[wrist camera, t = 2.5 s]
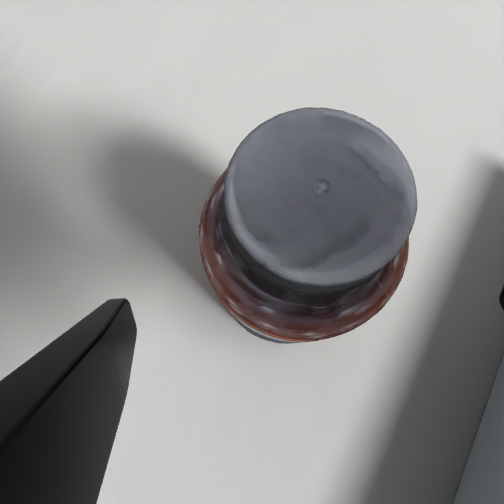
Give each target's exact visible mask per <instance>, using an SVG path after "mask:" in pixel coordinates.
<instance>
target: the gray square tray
mask: <svg viewBox="0 0 504 504" xmlns="http://www.w3.org/2000/svg"><path fill="white" fill-rule="evenodd" d="M453 504H504V355H503V358H502V361H501V363H500V366H499V369H498V372H497V375H496V378H495V381H494V384H493V387H492V390H491V393H490V396H489V399H488V402H487V405H486V408H485V411H484V414H483V417H482V420H481V423H480V426H479V429H478V431H477V434H476V437H475V440H474V443H473V446H472V449H471V452H470V455H469V458H468V461H467V464H466V467H465V470H464V473H463V476H462V479H461V482H460V485H459V488H458V491H457V494H456V497H455V500H454V502H453Z"/></svg>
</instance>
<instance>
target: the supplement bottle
mask: <svg viewBox="0 0 504 504" xmlns="http://www.w3.org/2000/svg"><path fill="white" fill-rule="evenodd" d="M416 212H417V192H416V186H415V181H414V176H413V173H412V170H411V169H410V167H409V164H408V162H407V160H406V158H405V157H404V155H403V153H402V152H401V150H400V149H399V148H398V146H397V145H396V144H395V143H394V142H393V141H392V140H391V139H390V138H389V137H388V136H387V135H386V134H385V133H384V132H383V131H382V130H381V129H379V128H378V127H376V126H374V125H372V124H371V123H370V122H367V121H365V120H364V119H362V118H359V117H357V116H356V115H353V114H349V113H347V112H344V111H340V110H334V109H328V108H301V109H297V110H293V111H289V112H285V113H282V114H278V115H277V116H275V117H273V118H271V119H269V120H267V121H265V122H264V123H262V124H260V125H259V126H258V127H256V128H255V129H254V130H253V131H252V132H250V133H249V134H248V135H247V136H246V138H245V139H244V140H243V141H242V142H241V143H240V145H239V146H238V148H237V149H236V151H235V153H234V155H233V157H232V159H231V161H230V162H229V165H228V168H227V169H226V170H225V172H224V173H223V174H222V175H221V176H220V178H219V179H218V181H217V182H216V183H215V185H214V186H213V188H212V189H211V191H210V193H209V195H208V198H207V200H206V202H205V205H204V208H203V211H202V214H201V220H200V225H199V228H200V230H199V240H200V250H201V256H202V262H203V264H204V268H205V271H206V273H207V276H208V278H209V281H210V283H211V285H212V286H213V288H214V290H215V291H216V293H217V295H218V296H219V298H220V299H221V301H222V302H223V303H224V304H225V306H226V307H227V308H228V310H229V311H230V312H231V313H232V315H233V316H234V317H235V318H236V320H237V321H238V322H239V323H240V324H241V325H242V327H244V328H245V329H246V330H247V331H249V332H250V333H252V334H253V335H255V336H258V337H260V338H262V339H264V340H267V341H271V342H276V343H299V342H310V341H318V340H322V339H327V338H331V337H335V336H338V335H341V334H344V333H347V332H349V331H351V330H353V329H355V328H357V327H358V326H360V325H362V324H363V323H365V322H366V321H368V320H369V319H370V318H372V317H373V316H374V315H375V314H377V313H378V312H379V311H380V310H381V309H382V308H383V307H384V306H385V304H386V303H387V302H388V301H389V299H390V298H391V296H392V295H393V294H394V292H395V290H396V289H397V287H398V285H399V283H400V281H401V279H402V277H403V274H404V271H405V266H406V263H407V259H408V248H409V234H410V232H411V230H412V227H413V224H414V221H415V217H416Z"/></svg>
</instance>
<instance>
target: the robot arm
mask: <svg viewBox="0 0 504 504" xmlns="http://www.w3.org/2000/svg"><path fill="white" fill-rule="evenodd" d="M499 301H500V305H501V307H502V309H503V311H504V285H503V288H502V290H501V293H500V296H499ZM136 335H137V328H136V323H135V320H134V316H133V313H132V309H131V306H130V303H129V301H128V300H127V299H125V298H121V299H110V300H108V301H106V302H105V303H103V304H102V305H101V306H99V307H98V308H97V309H95V310H94V311H93V312H91V313H90V314H89V315H87V316H86V317H85V318H83V319H82V320H81V321H80V322H78V323H77V324H76V325H74V326H73V327H72V328H70V329H69V330H68V331H66V332H65V333H64V334H62V335H61V336H60V337H58V338H57V339H56V340H54V341H53V342H52V343H50V344H49V345H48V346H46V347H45V348H44V349H42V350H41V351H40V352H38V353H37V354H36V355H34V356H33V357H32V358H30V359H29V360H28V361H26V362H25V363H24V364H22V365H21V366H20V367H18V368H17V369H16V370H14V371H13V372H12V373H10V374H9V375H8V376H6V377H5V378H4V379H2V380H1V381H0V504H96V503H97V499H98V496H99V492H100V489H101V485H102V482H103V478H104V475H105V471H106V468H107V464H108V460H109V457H110V453H111V450H112V446H113V443H114V439H115V436H116V432H117V429H118V425H119V421H120V418H121V414H122V411H123V407H124V404H125V400H126V396H127V391H128V385H129V379H130V373H131V366H132V360H133V354H134V348H135V341H136Z"/></svg>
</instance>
